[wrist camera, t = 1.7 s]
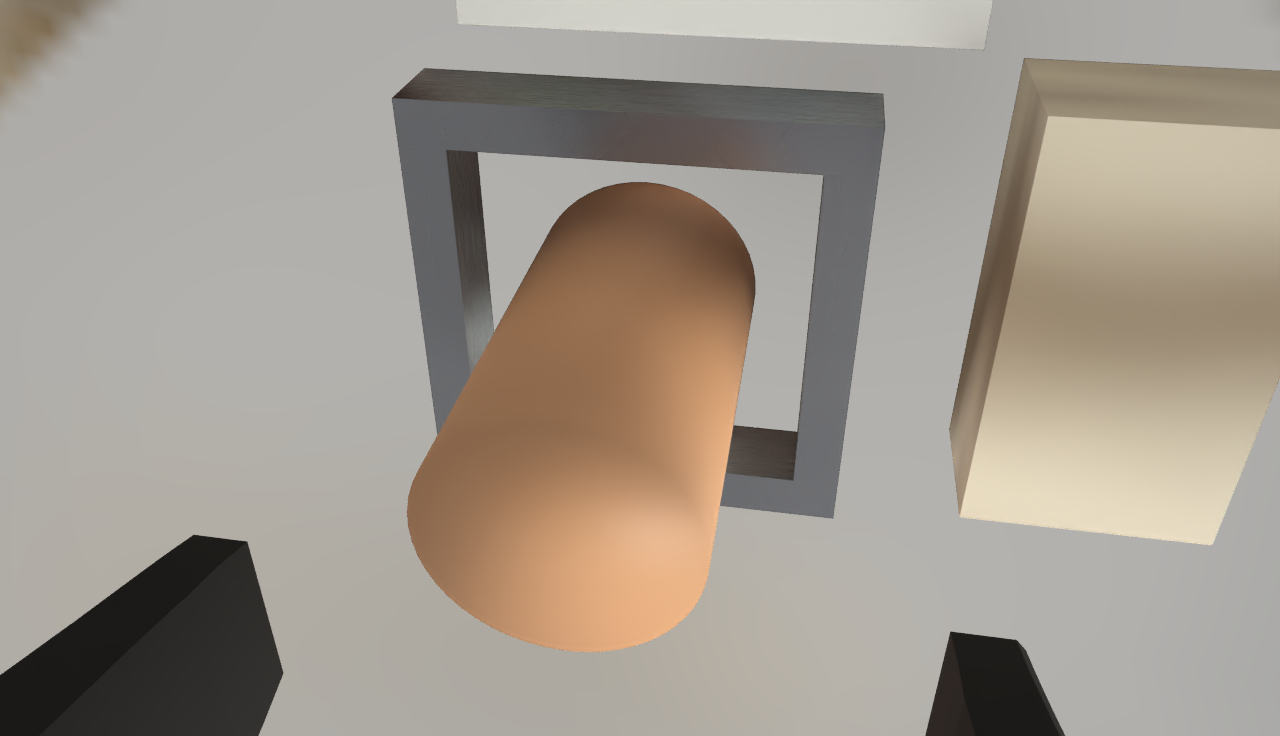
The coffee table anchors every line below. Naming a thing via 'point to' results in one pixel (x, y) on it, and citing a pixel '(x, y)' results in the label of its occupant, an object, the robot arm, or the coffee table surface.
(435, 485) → the dowel
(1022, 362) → the cream rectangular block
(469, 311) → the socket
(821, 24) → the tray
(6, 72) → the coffee table surface
